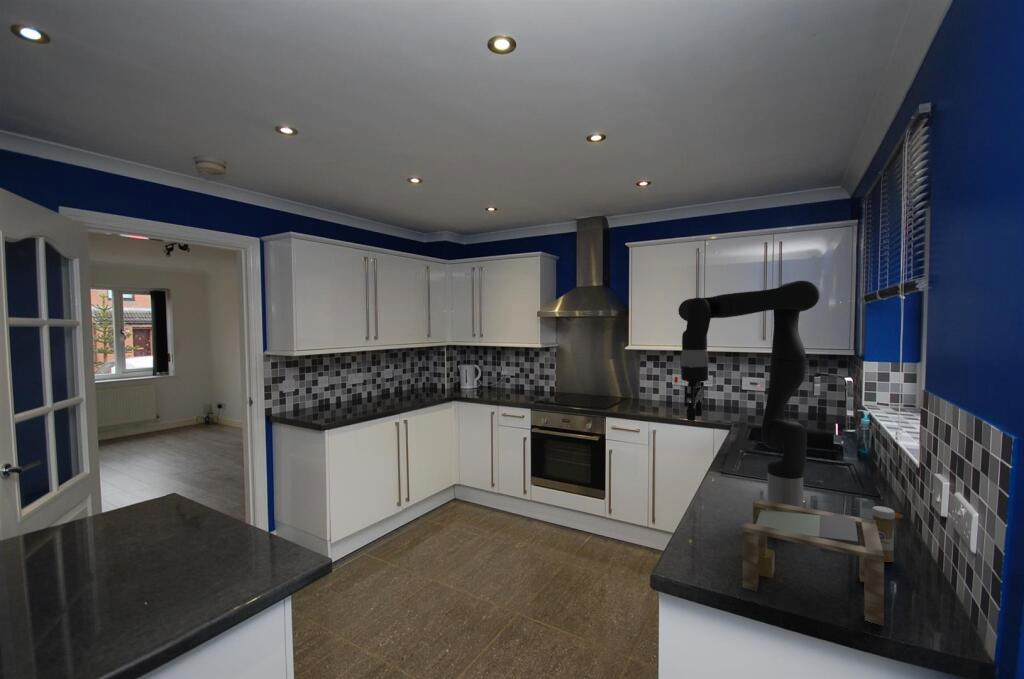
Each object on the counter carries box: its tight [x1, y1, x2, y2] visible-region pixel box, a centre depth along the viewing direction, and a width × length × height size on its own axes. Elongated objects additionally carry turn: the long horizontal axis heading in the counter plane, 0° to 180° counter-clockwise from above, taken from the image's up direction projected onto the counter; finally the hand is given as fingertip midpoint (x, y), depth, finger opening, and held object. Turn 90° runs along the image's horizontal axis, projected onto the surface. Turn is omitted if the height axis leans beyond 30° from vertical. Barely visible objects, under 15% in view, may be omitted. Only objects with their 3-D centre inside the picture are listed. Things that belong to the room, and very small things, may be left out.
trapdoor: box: [756, 509, 860, 558], centre depth 111 cm, size 20×14×3 cm
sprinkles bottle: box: [872, 505, 896, 563], centre depth 121 cm, size 5×5×14 cm
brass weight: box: [759, 547, 776, 579], centre depth 116 cm, size 5×5×5 cm
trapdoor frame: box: [742, 498, 885, 627], centre depth 110 cm, size 26×21×14 cm
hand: (694, 418), depth 139 cm, fingers open, 8 cm apart
